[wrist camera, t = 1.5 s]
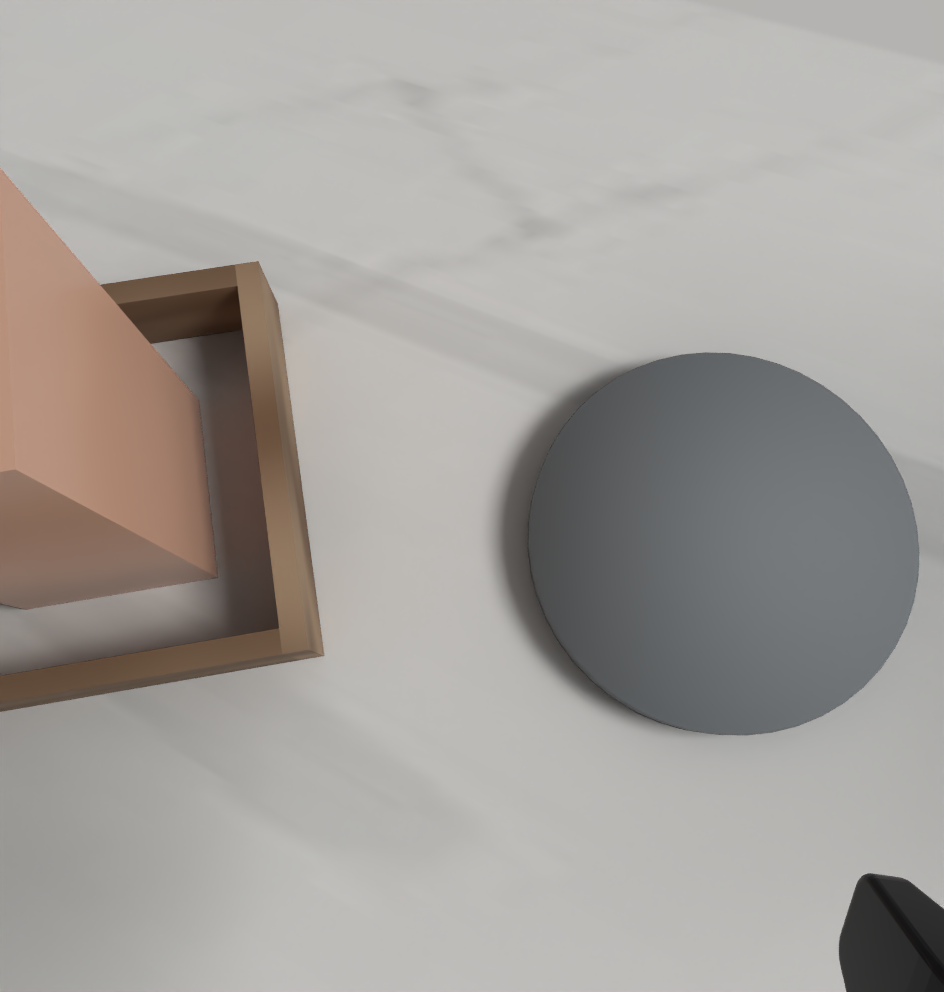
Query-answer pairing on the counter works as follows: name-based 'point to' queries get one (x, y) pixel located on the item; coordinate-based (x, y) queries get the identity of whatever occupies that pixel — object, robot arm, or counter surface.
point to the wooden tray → (252, 307)
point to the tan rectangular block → (88, 435)
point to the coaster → (723, 544)
